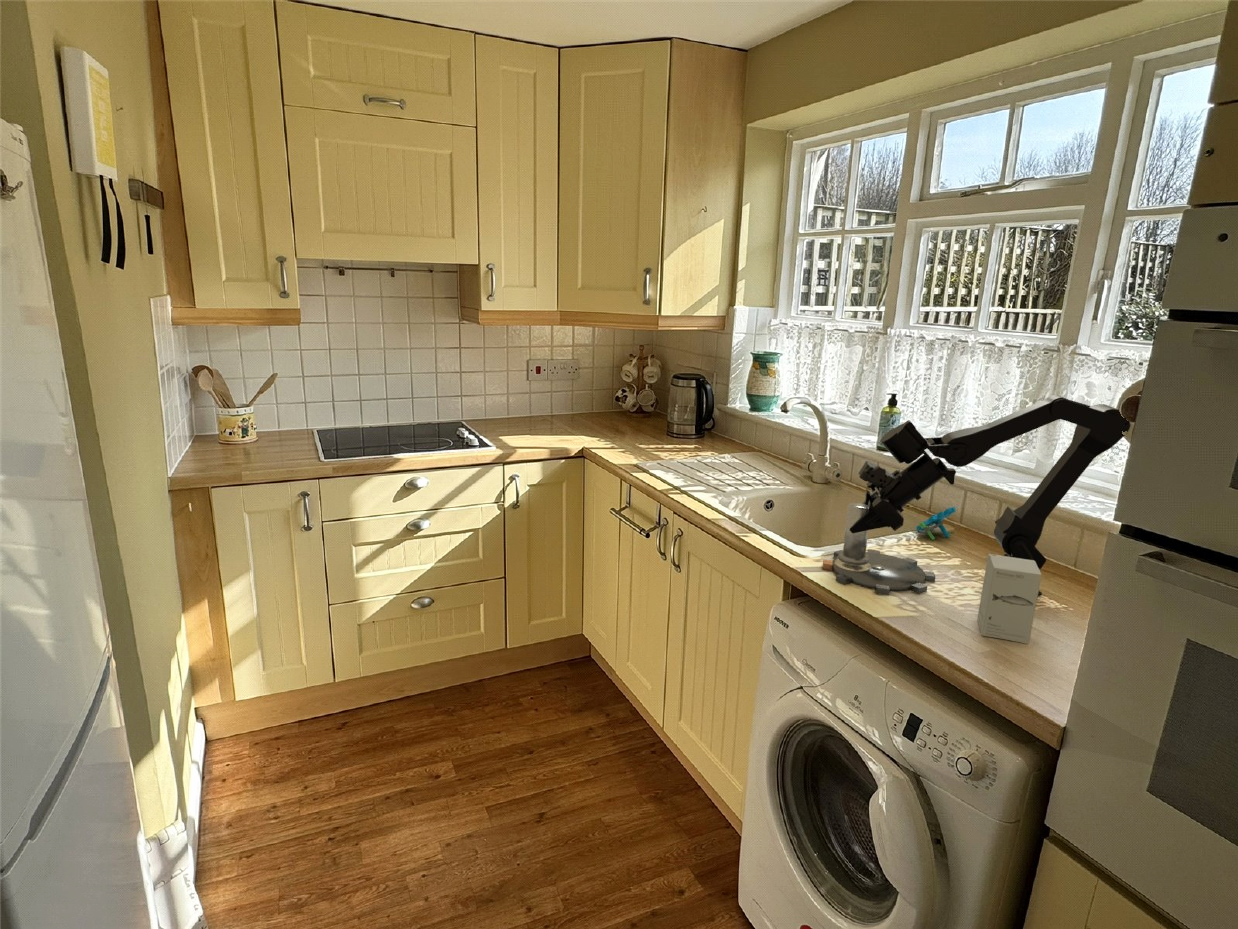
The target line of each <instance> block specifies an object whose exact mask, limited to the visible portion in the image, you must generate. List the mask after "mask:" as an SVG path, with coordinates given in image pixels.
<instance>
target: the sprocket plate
mask: <svg viewBox="0 0 1238 929" xmlns="http://www.w3.org/2000/svg"><path fill="white" fill-rule="evenodd" d="M840 551H843V549H841V550H836V551H833V559H831V560H829V559H823V561H822V569H823V570H827V571H828V570H829V571H832V572H833V574H835V575H836V576H835V582H837V583H840V584H841V585H844V586H848V585H851V584H852V585H855V586H858V587H861V588H865V589H869V590H874V591H875V594H876V595H883V596H884V595H885V596H890V592H894V593H895V592H897V593H898V592H900V593H901V592H913V593H915V594H918V595H921V594H924V593H927V591H928V585H926V584H925V582H931V583H935V582H936V574H935V573H934V571H925V570H923V568H921V567H920V566H919V565H918V560H916V559H913V558H910V557H908V556H907V557H905V558H901V557H897V556H894V555H890V554H886V553H885V554H884V553H881V552H880V550H877V549H867V551H866V554H868V555H869V563H868V564H865V565H851V564H847V563H844V562H842V561H840V560H839V559H838V557H839V552H840Z"/></svg>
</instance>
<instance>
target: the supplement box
mask: <svg viewBox="0 0 1238 929" xmlns="http://www.w3.org/2000/svg"><path fill="white" fill-rule="evenodd" d="M1042 577H1043V576H1042V573H1041V569H1039V568H1038V566H1037V564H1036V562H1035V561H1034V560H1027V559H1020V558H1013V557H1007V556H1004V555H999V554H992V553H988V555H987V559H986V565H985V572H984V578H983V583H982V589H981V593H980V601H979V606H978V613H977V618H976V619H977V623H978V626H979V632H980V635H981V636H982V637H991V638H995V639H1001V640H1002V639H1003V640H1007V641H1011V642H1017V643H1023V644H1027V645H1028V644H1029V643H1030V639H1031V634H1032V627H1033V622H1034V617H1035V611H1036V606H1037V602H1038V597H1039V595H1038V592H1039V591H1040V586H1041V581H1042Z"/></svg>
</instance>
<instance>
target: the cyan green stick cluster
mask: <svg viewBox="0 0 1238 929" xmlns="http://www.w3.org/2000/svg"><path fill="white" fill-rule="evenodd" d="M956 511H957V508H956V506H952V507H948V508H946V509H945V510H944V511H939V512H938V513H936V514H933V515H932V516H930V517H929V518H927V520H925V521H921V522H919V523H918V525H917V526H916V530H917V532H920V531H923V532H924V533H927V535H928V536H929V538H930V539H931V540H932V541H934V540H935V539H936V538H935V536H934V535H933V534H932V532H931V531H932V530H935V529H937V528H939V530H940V532H941V533H942V534H943V535H944V537H945V538H946V539H948V538H949V537H951V535H950V534H949V531H947V529H946V528H945V526H944V522H943V521H944V519H946V518H947V517H950V516H951V515H952V514H954V513H955V512H956Z"/></svg>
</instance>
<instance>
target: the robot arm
mask: <svg viewBox="0 0 1238 929" xmlns="http://www.w3.org/2000/svg"><path fill="white" fill-rule="evenodd" d="M1119 410H1120V409H1118V408H1115V407H1112V406H1110V405H1107V404H1104V403H1103V404H1102V403H1099V404H1098V403H1097V404H1094V405H1088V404H1085V403H1083V402H1082V403H1081V402H1078V401H1075V400H1072V399H1069V398H1066V397H1064V396H1062V395H1059V394H1053V395H1049V396H1048V397H1046V398H1045V399H1043V400H1041V401H1039V402H1036V403H1033V404H1031V405H1028V406H1027V407H1024V408H1022V409H1019V410H1018V411H1015V412H1013V413H1010V414H1008V415H1006V416H1005V415H1004V416H1003V417H1000V418H998V419H996V420H994V421H992V422H991V421H990V422H989V423H985V424H983V425H978V426H974V427H965V428H962V429H958V430H953V431H950V432H947V433H945V434H944V435H943V436H939V437H938V436H935V437H924V435H922V434H921V433H920V431H918V429H917V428H916V426H915V425H914V423H913V422H912V421H911V420H909V419H907V420H906V421H905V422H903V423H901V424H899V425H897V426H896V427H892V428H891V429H890V430H888V431H887V432H886V433H885V434H884V435H883V436H881V439H880V440H879V442H880V444H882V445H883V447H884V448H885V449H886V450H887V451H888V452H889V453H890V454H891V456H892V457H893V458H894V459H895V460H896V461H897V462H898V463H899V464H902V463H905V464H907V465H908V466H907V467H905V468H904V469H902V470H900V469H898V470H897V469H896V470H895V471H893V472H890V471H888V470H886V469H885V468H883V467H881V466H880V465H878V464H875V463H873V461H870V460H866V461H865V462H864V464H863V465H862V467H861V469H860V470H859V472H858V475H859V476H858V477H859V478H860V480H862V481H864V482H866V487H867V488H866V489H865V493H864V494H865V495H864V501H863V503H862V504H866V505H868V510H867V512H865V513H864V514H863V515H862V516H861V517H860V518H859V519H858V520H857V521H856V522H855V523H854V525H853V526H852V527H851V528H850V529H849V530H850V531H851V532H852V533H858V532H862V531H867V530H868V531H871V530H875V529H876V530H877V529H883V528H891V529H892V530H893V531H894V532H896V531H897V530H899V529H900V528H902V527H903V526H904V520H905V519H904V516H903V514H902V513H903V512H904V507H905V506H906V505H908V504H910V503H911V502H912V501H914V500H916V501H919V500H920V499H922V494H923V493H925V492H926V491H927V490H928V489H930V488H932V487H933V486H934V485H936V484H937V483H938V482H940V481H941V480H943V479H945V480H946V481H947V483H949V484H950V485H953V486H954V485H955V476H956V473H957V471H956V469H955V468H953V467H956V468H961V467H965V466H966V467H967V466H968V465H969V464H972V463H973V462H975V461H977V460H978V459H980V458H981V457H983V456H984V455H985V454H986V453H988V452H989V451H990V450H992V448H994V447H996V446H998V445H1000V444H1003V443H1004V442H1007V441H1010V440H1012V439H1015V438H1017V437H1020V436H1022V435H1024V434H1027V433H1030V432H1031V431H1034V430H1036V429H1040V428H1041V427H1044V426H1046V425H1049V424H1051V423H1054V422H1055V421H1060V420H1062V421H1066V422H1067V423H1068V422H1069V423H1072V424H1074V425H1076V426H1075V429H1074V431H1073V432H1074V433H1073V436H1072V439H1071V442H1070V445H1069V446H1068V447H1067V449H1066V450H1065V451H1064V452H1063V453H1062V454H1061V456H1060V457H1059V459H1058V460H1057V461H1056V462H1055V464H1054V465H1053V466H1052V468H1050V470H1049V471H1048V473H1047V474H1046V475H1045V477H1044V478H1043V479H1042V480H1041V482H1040V483H1039V484H1038V485H1037V487H1036V488H1035V489H1034V490H1033V491H1032V493H1031V494H1030V496H1029V497H1027V498H1028V499H1026V501H1025V502H1024V503H1023V504H1022V505H1021V506H1019V507H1017V508H1016V509H1012V508H1011V507H1010V506H1007V507H1005V509H1004V511H1003V513H1002V514H1001V516H1000V517H999V518H998V519H997V520H995V521H994V523H995V527H994V530H993V534H994V535H993V536H994V539H995V540H996V542H997V543H998V545H999V546H1000V547H1001V548H1002V550H1003V552H1004V553H1005V554H1004V555H1003V556H1007V557H1013V558H1020V559H1027V560H1034V561H1035V562H1036V564H1037V566H1038V568H1039V570H1041V569H1042V568H1043V567H1044V565H1045V564H1046V563H1047V559H1046V557H1045V556H1044V555H1043V554H1042V553H1041V551H1039V550H1038V548H1037V547H1036V546H1037V544H1038V542H1039V540H1040V538H1041V536H1042V535H1043V534H1042V533H1043V530H1044V526H1045V522H1046V520H1047V519H1048V517H1049V516H1050V515H1051V514H1052V512H1053V511H1054V510H1055V508H1056V507H1057V506H1058V504H1059V503H1060V502H1061V500H1062V499H1063V498H1064V497H1065V496H1066V495H1067V493H1069V491H1070V489H1071V488H1072V487H1073V486H1074V484H1076V482H1077V480H1079V478H1080V477H1081V476H1082V474H1083V473H1084V472H1085V470H1086V469H1088V467H1089V466H1090V464H1091V463H1092V462H1093V460H1095V458H1097V457H1098V456H1100V455H1102V454H1103V453H1104V452H1106V451H1108V450H1111V448H1113V447H1115V445H1116V444H1117V443H1118V442H1120V441H1121V440H1122V439H1123V438H1124V437H1125V436H1126V435H1123V434H1122V431H1123V432H1125V431H1127V432H1128V433H1129V431H1130V428H1131V425H1132V424H1131V421H1130V422H1129V421H1127V420H1126V418H1123V417H1122V416H1121V414H1120V412H1119ZM927 449H928V451H929V452H930V453H931V454H932V456H934V457H935V458H932V457H931V456H930V455H929V453H927ZM941 459H944V461H946V463H948V464H949V465H951V466H953V467H948V466H947V465H946V464H945V462H943V461H942V460H941ZM868 489H871V490H870V491H869V490H868ZM1038 596H1043V592H1042V591H1041V590H1039V592H1038Z"/></svg>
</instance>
